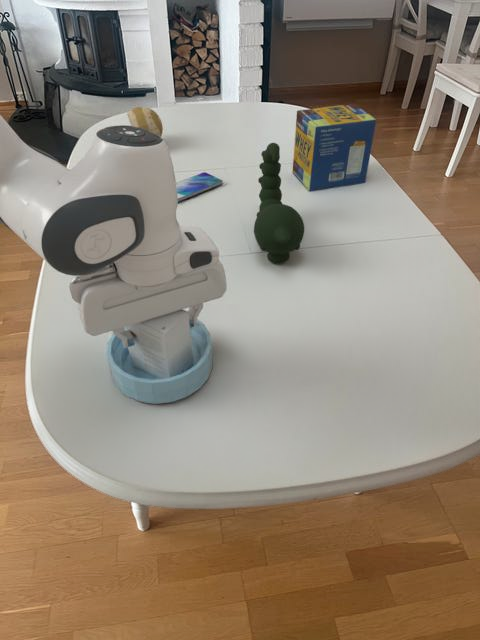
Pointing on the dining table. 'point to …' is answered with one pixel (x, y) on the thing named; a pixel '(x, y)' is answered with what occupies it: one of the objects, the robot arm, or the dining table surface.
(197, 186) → the smartphone
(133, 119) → the mushroom
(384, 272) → the dining table surface
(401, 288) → the dining table surface
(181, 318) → the small box
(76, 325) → the dining table surface
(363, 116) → the protein box
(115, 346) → the bowl
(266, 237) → the toy figurine
